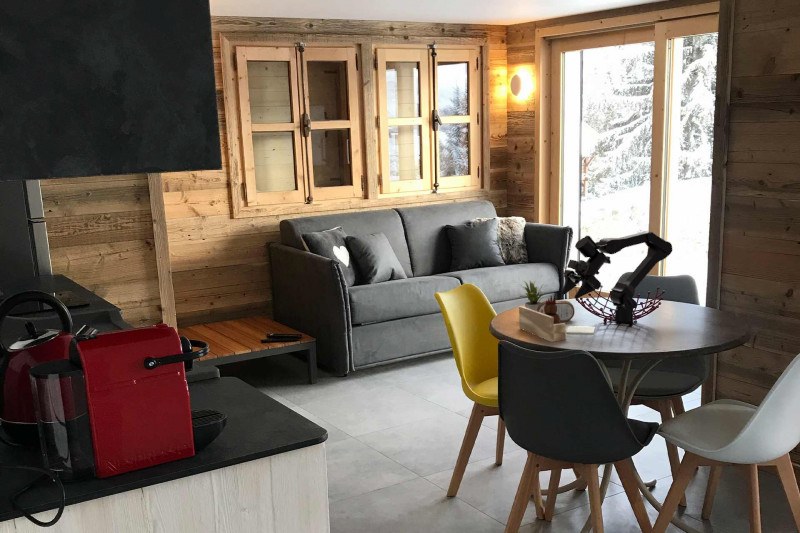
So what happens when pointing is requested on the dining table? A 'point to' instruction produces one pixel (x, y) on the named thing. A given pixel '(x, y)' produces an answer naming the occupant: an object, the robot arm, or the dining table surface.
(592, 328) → the board
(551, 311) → the wooden figurine
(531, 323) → the shelf bay
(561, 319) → the tin
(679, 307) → the dining table surface
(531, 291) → the house plant
